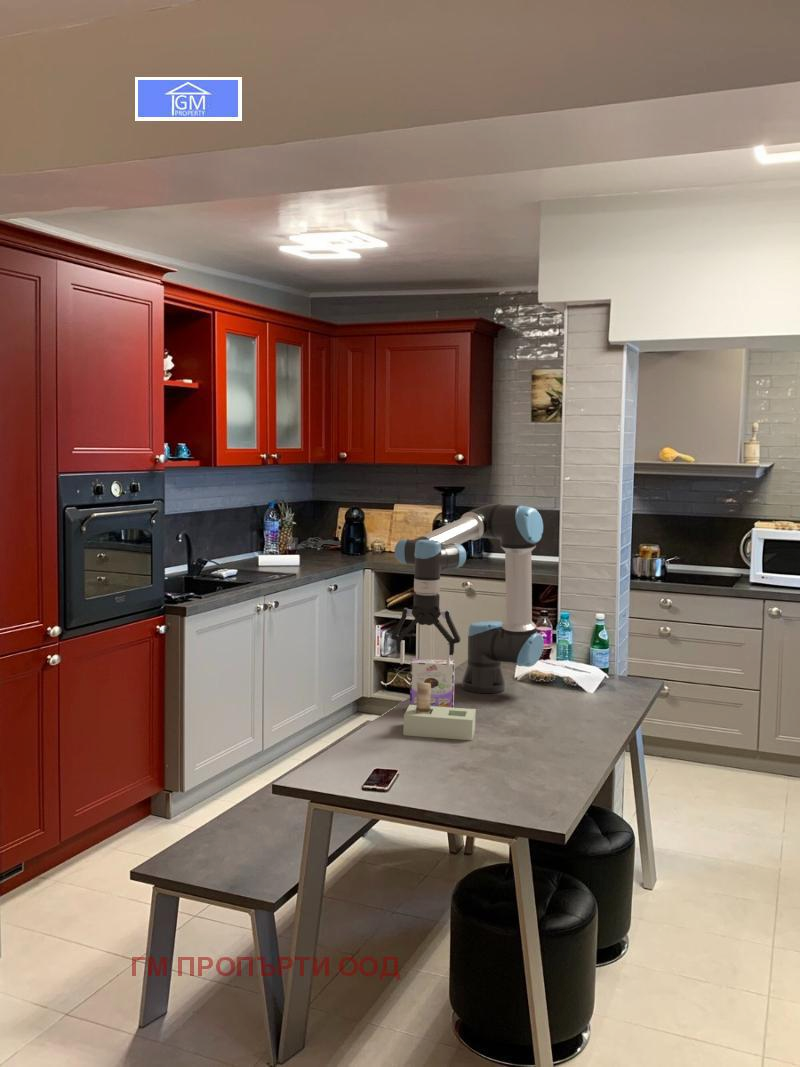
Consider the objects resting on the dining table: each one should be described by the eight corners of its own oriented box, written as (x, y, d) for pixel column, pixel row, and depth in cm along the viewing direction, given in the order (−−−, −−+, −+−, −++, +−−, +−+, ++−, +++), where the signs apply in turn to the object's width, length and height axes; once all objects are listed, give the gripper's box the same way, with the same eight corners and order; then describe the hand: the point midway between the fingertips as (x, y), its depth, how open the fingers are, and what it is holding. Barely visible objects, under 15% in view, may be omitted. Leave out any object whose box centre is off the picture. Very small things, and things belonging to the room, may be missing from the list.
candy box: (453, 709, 304) (455, 659, 302) (452, 715, 298) (454, 663, 296) (410, 707, 305) (412, 657, 303) (409, 713, 299) (410, 661, 297)
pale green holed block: (409, 723, 288) (409, 704, 287) (475, 728, 285) (475, 709, 284) (403, 735, 277) (403, 715, 276) (471, 740, 274) (472, 720, 273)
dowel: (416, 728, 284) (418, 682, 282) (430, 729, 283) (431, 683, 282) (414, 732, 280) (416, 685, 278) (428, 733, 279) (430, 686, 278)
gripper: (382, 593, 276) (381, 664, 278) (468, 597, 272) (466, 670, 274) (386, 588, 283) (385, 658, 285) (470, 592, 279) (468, 663, 281)
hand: (425, 664), depth 280 cm, fingers open, 13 cm apart
